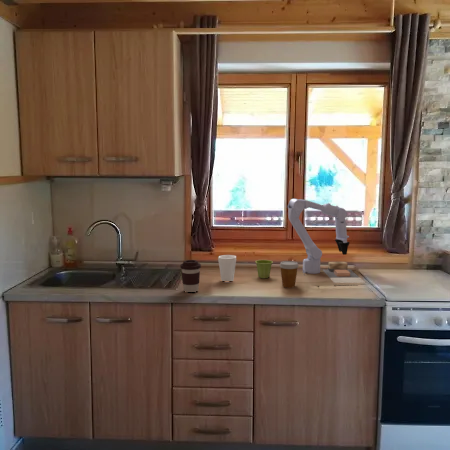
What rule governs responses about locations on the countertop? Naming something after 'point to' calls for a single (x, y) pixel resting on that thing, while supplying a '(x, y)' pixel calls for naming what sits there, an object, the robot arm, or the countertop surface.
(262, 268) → the plant pot
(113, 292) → the countertop surface
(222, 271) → the foam cup
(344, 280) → the board
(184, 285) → the coffee cup
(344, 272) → the tile
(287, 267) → the disposable coffee cup
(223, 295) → the countertop surface
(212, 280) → the countertop surface
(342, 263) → the block
